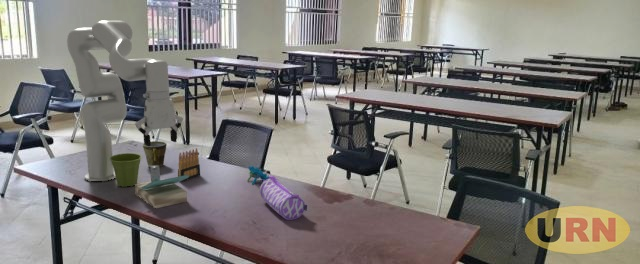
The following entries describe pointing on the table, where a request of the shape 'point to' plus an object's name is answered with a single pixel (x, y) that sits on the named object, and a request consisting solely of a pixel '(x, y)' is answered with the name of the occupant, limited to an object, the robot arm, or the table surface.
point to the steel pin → (155, 173)
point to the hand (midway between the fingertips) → (160, 143)
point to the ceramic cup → (155, 153)
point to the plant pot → (126, 168)
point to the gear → (256, 174)
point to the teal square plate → (164, 182)
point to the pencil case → (282, 199)
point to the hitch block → (161, 194)
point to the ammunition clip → (189, 165)
